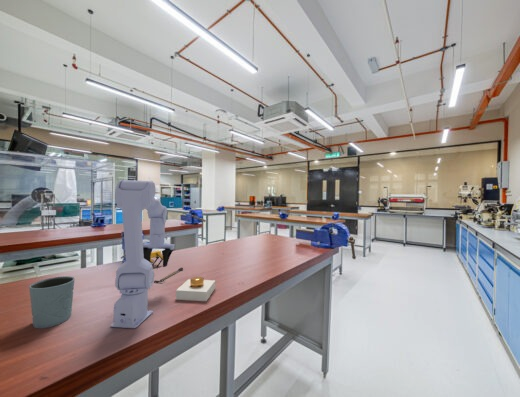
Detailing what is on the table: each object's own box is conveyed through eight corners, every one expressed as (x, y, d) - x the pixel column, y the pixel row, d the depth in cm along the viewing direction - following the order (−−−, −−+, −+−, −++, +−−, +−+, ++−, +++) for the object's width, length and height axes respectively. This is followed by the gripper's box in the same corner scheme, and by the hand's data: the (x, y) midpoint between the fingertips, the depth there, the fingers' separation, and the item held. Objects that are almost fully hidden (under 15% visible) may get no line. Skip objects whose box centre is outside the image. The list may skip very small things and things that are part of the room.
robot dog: (127, 272, 112) (128, 246, 112) (157, 263, 128) (158, 241, 129) (134, 274, 110) (135, 247, 110) (164, 265, 126) (165, 242, 126)
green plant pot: (75, 320, 67) (77, 281, 68) (28, 335, 60) (29, 291, 60) (70, 309, 74) (71, 273, 74) (27, 320, 67) (28, 281, 67)
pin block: (206, 301, 82) (206, 292, 82) (175, 299, 83) (175, 290, 83) (215, 288, 94) (215, 280, 94) (188, 287, 95) (188, 279, 95)
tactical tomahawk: (165, 286, 98) (165, 284, 98) (152, 283, 99) (153, 281, 99) (191, 271, 118) (191, 269, 118) (180, 269, 120) (180, 267, 120)
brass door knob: (200, 296, 86) (201, 281, 86) (188, 296, 86) (188, 280, 86) (205, 291, 91) (205, 276, 91) (192, 290, 91) (193, 276, 91)
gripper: (178, 232, 95) (177, 263, 95) (146, 231, 97) (145, 262, 96) (170, 235, 88) (169, 268, 88) (136, 234, 89) (135, 267, 89)
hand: (156, 265), depth 92 cm, fingers open, 7 cm apart
